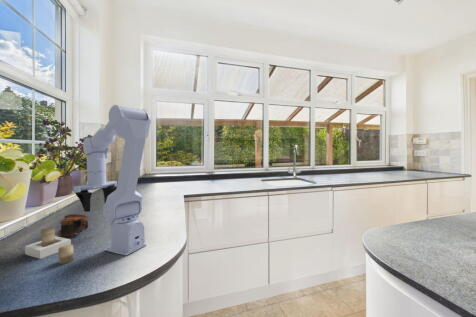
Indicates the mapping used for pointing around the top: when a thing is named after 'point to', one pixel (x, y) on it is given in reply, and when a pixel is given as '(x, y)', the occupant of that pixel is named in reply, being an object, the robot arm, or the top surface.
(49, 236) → the long pin
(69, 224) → the pottery mug
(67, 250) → the short pin
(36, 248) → the collar
